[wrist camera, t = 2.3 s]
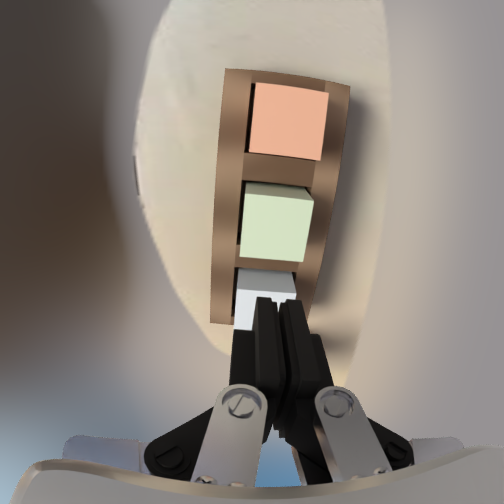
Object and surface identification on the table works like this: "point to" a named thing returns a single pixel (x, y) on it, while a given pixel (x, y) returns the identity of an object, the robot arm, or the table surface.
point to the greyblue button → (260, 292)
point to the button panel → (275, 172)
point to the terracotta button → (288, 121)
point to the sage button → (275, 221)
